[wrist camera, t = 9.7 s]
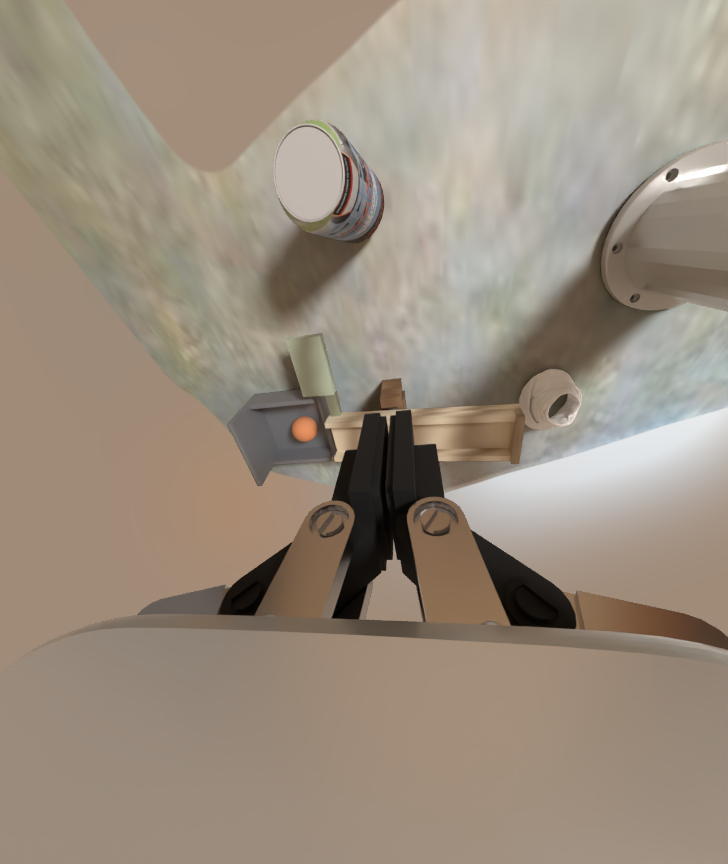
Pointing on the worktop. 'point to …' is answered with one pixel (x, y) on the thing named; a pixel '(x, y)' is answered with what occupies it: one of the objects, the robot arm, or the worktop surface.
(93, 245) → the worktop surface
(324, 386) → the lever
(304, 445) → the bin
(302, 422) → the ball
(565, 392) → the grey hollow rounded piece
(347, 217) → the beverage can
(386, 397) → the fulcrum
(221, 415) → the worktop surface
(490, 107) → the worktop surface
